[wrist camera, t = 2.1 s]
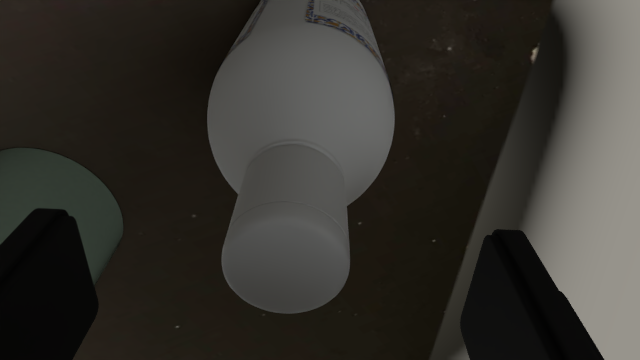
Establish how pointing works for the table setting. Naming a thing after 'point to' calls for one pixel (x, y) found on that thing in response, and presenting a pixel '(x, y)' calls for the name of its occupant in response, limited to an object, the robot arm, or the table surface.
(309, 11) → the bath foam
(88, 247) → the green cylindrical jar
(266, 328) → the table surface
